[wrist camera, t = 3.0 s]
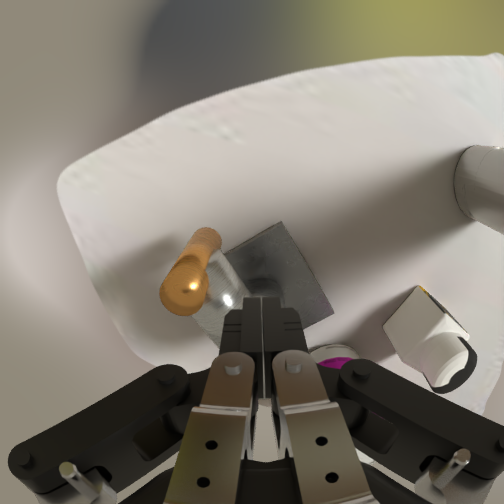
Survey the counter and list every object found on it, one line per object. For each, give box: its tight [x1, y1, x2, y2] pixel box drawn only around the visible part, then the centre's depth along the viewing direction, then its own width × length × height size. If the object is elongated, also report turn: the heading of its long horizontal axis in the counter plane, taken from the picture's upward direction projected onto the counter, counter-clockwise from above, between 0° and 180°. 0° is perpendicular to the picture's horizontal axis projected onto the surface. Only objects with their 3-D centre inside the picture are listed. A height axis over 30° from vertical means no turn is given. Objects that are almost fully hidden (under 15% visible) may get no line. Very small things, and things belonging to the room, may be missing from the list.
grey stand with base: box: [224, 222, 334, 329], centre depth 28 cm, size 12×12×8 cm
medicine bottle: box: [383, 286, 477, 394], centre depth 28 cm, size 7×7×12 cm
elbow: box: [160, 227, 270, 399], centre depth 22 cm, size 14×6×9 cm, turn 32°
